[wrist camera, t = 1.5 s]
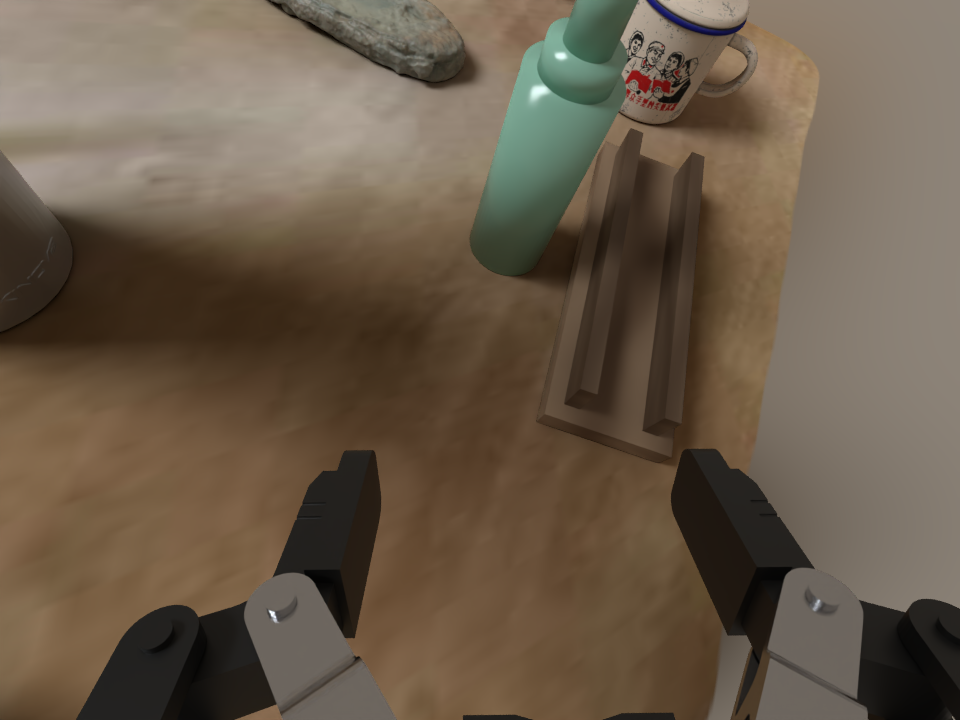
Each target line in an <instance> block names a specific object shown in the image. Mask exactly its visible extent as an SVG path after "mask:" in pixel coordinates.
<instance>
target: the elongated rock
mask: <svg viewBox="0 0 960 720" xmlns="http://www.w3.org/2000/svg"><path fill="white" fill-rule="evenodd" d="M271 1H272V2H276V3H280V4H281V5H282V8H283V9H284V11H285V12H286V13H288V14H291V15H296V16H297V17H298V18H300V19H304V20H305V21H308V22H311V23H312V24H314V25H316V26H317V27H319V28H321V29H322V30H324V31H326V32H327V33H329V34H330V35H332V36H333V37H334V38H336V39H337V40H339V41H341V42H342V43H344V44H346V45H347V46H348V47H351V48H352V49H354V50H355V51H357V52H359V53H361V54H363V55H364V56H365V57H367V58H369V59H370V60H371V61H374V62H378V63H380V64H382V65H385V66H388V67H391V68H392V69H394V70H395V71H396V72H397V73H398V74H400V73H402V74H403V73H405V74H407V75H410V76H412V77H416V78H418V79H423V80H426V81H431V82H439V81H445V80H447V79H450V78H453V77H454V76H455V75H456V74H457V73H458V72H459V71H460V69H461V68H462V67H463V63H464V59H465V56H466V55H465V52H464V42H463V39H462V37H461V36H460V34H459V33H458V31H457V30H456V29H455V28H454V26H453V25H452V24H451V22H450V21H449V20H448V19H447V18H446V17H445V16H444V14H443V13H442V12H441V11H440V10H439V9H438V8H437V7H436V6H434V5H433V4H431V3H430V2H428V1H427V0H271Z"/></svg>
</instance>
